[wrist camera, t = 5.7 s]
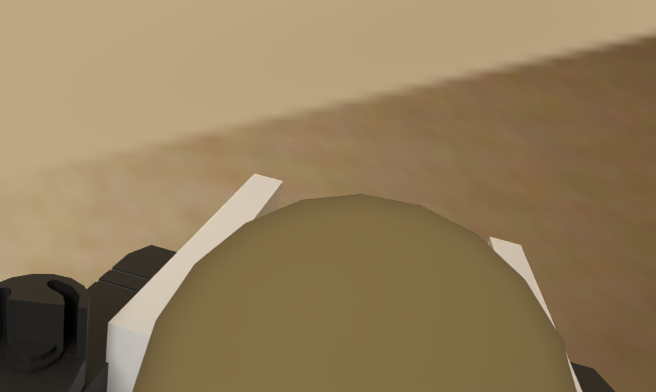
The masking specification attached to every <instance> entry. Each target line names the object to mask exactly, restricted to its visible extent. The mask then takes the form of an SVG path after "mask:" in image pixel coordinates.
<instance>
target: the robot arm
mask: <svg viewBox="0 0 656 392" xmlns="http://www.w3.org/2000/svg"><path fill="white" fill-rule="evenodd" d="M282 184H283V181H280V180H276V179H273V178H269V177H265V176H261V175H258V174H254V175H253V176H252V177H251V178H250V179H249V180H248V181H247V182H246V183H245V184H244V185H243V186H242V187H241V188H240V189H239V190H238V191H237V192H236V193H235V194H234V195H233V196H232V197H231V198H230V199H229V200H228V201H227V202H226V203H225V204H224V205H223V206H222V207H221V208H220V209H219V210H218V211H217V212H216V213H215V214H214V215H213V217H212V218H211V219H210V220H209V221H208V222H207V223H206V224H205V225H204V226H203V227H202V228H201V229H200V230H199V231H198V232H197V233H196V234H195V235H194V236H193V237H192V238H191V239H190V240H189V241H188V242H187V243H186V244H185V245H184V246H183V247H182V248H181V249H180V250H179V251H178V252H174V251H171V250H167V249H164V248H160V247H157V246H153V245H150V246H147V247H145V248H142V249H140V250H137V251H134V252H132V253H129V254H128V255H126V256H125V257H124V258H123V259H122V260H121V261H119V262H118V263H117V264H116V265H115V266H113V268H112V270H109V271H108V272H106V273H105V274H104V275H103V276H102V277H101V278H99V281H98V282H95V283H94V284H92V285H91V286H90V287H89V288H88V289H87V290H86V288H85V286H83V285H82V284H80V283H78V282H77V281H75V280H73V279H72V278H68V277H63V276H59V275H55V274H30V275H24V276H18V277H12V278H9V279H7V280H4V281H2V282H0V392H132V391H133V388H134V385H135V382H136V378H137V375H138V372H139V369H140V366H141V363H142V360H143V357H144V354H145V351H146V348H147V345H148V342H149V339H150V336H151V333H152V330H153V327H154V324H155V321H156V319H157V318H158V316H159V315H160V313H161V312H162V311H163V309H164V308H165V306H166V305H167V303H168V302H169V300H170V299H171V297H172V296H173V295H174V293H175V292H176V290H177V289H178V287H179V286H180V284H181V283H182V282H183V280H184V279H185V277H186V276H187V274H188V273H189V271H190V270H191V269H192V267H193V266H194V264H195V263H196V262H198V261H199V260H200V259H201V258H202V257H204V256H205V255H206V254H207V253H209V252H210V251H211V250H212V249H214V248H215V247H216V246H217V245H219V244H220V243H221V242H222V241H224V240H225V239H226V238H227V237H229V236H230V235H231V234H232V233H234V232H235V231H236V230H237V229H238V228H240V227H241V226H242V225H243V224H245V223H247V222H249V221H252V220H254V219H256V218H259V217H261V216H264V215H266V214H269V213H271V212H274V211H276V210H278V204H279V199H280V194H281V189H282ZM487 244H488V245H489V246H490V247H491V248H492V249H493V250H494V251H495V252H496V253H497V254H498V255H500V256H501V257H502V258H503V259H504V260H505V261H506V262H507V263H508V264H509V265H510V266H511V267H512V268H513V269H515V270H516V271H517V272H518V273H519V274H520V275H521V276H522V277H523V278H524V279H525V280H526V281H527V283H528V285H529V286H530V288H531V290H532V291H533V293H534V295H535V296H536V298H537V299H538V301H539V303H540V304H541V306H542V308H543V309H544V311H545V312H546V314H547V316H548V317H549V319H550V321H551V322H552V324H553V326H554V323H553V321H552V318H551V316H550V314H549V311H548V309H547V307H546V304H545V302H544V299H543V297H542V295H541V292H540V290H539V288H538V285H537V283H536V280H535V278H534V276H533V273H532V271H531V269H530V266H529V264H528V261H527V259H526V257H525V254H524V252H523V250H522V247H521V245H519V244H515V243H511V242H507V241H504V240H500V239H496V238H492V237H490V238H489V241H488V243H487ZM554 327H555V326H554ZM555 329H556V328H555ZM566 355H567V354H566ZM567 359H568V356H567ZM568 362H569V366H570V369H571V373H572V376H573V380H574V383H575V387H576V390H577V392H615V391H614V390H613V389H612V388H611V387H610V386H609V385H608V384H607V383H606V381H605V380H604V379H603V378H602V377H601V376H600V375H599V374H598V373H597V372H596V371H595V370H594V369H592V368H589V367H585V366H582V365H578V364H575V363H571V362H570V361H569V359H568Z"/></svg>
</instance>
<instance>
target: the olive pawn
mask: <svg viewBox="0 0 656 392" xmlns="http://www.w3.org/2000/svg"><path fill="white" fill-rule="evenodd" d="M132 392H577V390H576V387H575V383H574V380H573V376H572V373H571V369H570V366H569V362H568V359H567V355H566V352H565V348H564V345H563V341H562V339H561V337H560V335H559V334H558V332H557V330H556V329H555V327H554V326H553V324H552V322H551V321H550V319H549V317H548V316H547V314H546V312H545V311H544V309H543V308H542V306H541V304H540V303H539V301H538V299H537V298H536V296H535V295H534V293H533V291H532V290H531V288H530V286H529V285H528V283H527V281H526V280H525V279H524V278H523V277H522V276H521V275H520V274H519V273H518V272H517V271H516V270H515V269H513V268H512V267H511V266H510V265H509V264H508V263H507V262H506V261H505V260H504V259H503V258H502V257H501V256H500V255H498V254H497V253H496V252H495V251H494V250H493V249H492V248H491V247H490V246H489V245H488V244H487V243H486V242H485V241H484V240H482V239H481V238H480V237H479V236H478V235H477V234H475V233H473V232H471V231H469V230H467V229H465V228H463V227H462V226H460V225H458V224H456V223H454V222H452V221H450V220H448V219H446V218H444V217H442V216H440V215H438V214H436V213H434V212H432V211H431V210H429V209H427V208H425V207H423V206H420V205H415V204H410V203H404V202H399V201H394V200H389V199H384V198H379V197H374V196H369V195H364V194H359V195H348V196H338V197H327V198H316V199H306V200H301V201H298V202H296V203H293V204H291V205H288V206H286V207H283V208H281V209H279V210H276V211H274V212H271V213H269V214H266V215H264V216H261V217H259V218H256V219H254V220H252V221H249V222H247V223H245V224H243V225H242V226H241V227H240V228H238V229H237V230H236V231H235V232H234V233H232V234H231V235H230V236H229V237H227V238H226V239H225V240H224V241H222V242H221V243H220V244H219V245H217V246H216V247H215V248H214V249H212V250H211V251H210V252H209V253H207V254H206V255H205V256H204V257H202V258H201V259H200V260H199V261H198V262H196V263H195V264H194V266H193V267H192V269H191V270H190V271H189V273H188V274H187V276H186V277H185V279H184V280H183V282H182V283H181V284H180V286H179V287H178V289H177V290H176V292H175V293H174V295H173V296H172V297H171V299H170V300H169V302H168V303H167V305H166V306H165V308H164V309H163V311H162V312H161V313H160V315H159V316H158V318H157V319H156V321H155V324H154V327H153V330H152V333H151V336H150V339H149V342H148V345H147V348H146V351H145V354H144V357H143V360H142V363H141V366H140V369H139V372H138V375H137V378H136V382H135V385H134V388H133V391H132Z"/></svg>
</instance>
